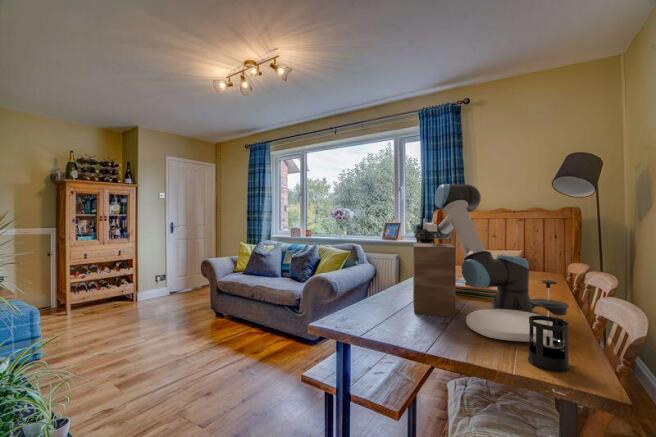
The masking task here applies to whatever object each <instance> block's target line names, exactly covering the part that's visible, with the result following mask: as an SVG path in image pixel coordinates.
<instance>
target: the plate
mask: <svg viewBox="0 0 656 437" xmlns="http://www.w3.org/2000/svg"><path fill="white" fill-rule="evenodd" d="M530 316H542V315H540V314H538V313H534V312H533V313H530V312H524V311H517V310H508V309H493V308H484V309H478V310H475V311H472V312H470V313H468V314H467V315H466V317H465V318H466V319H465V323H466V325H467V327H468V328H469V329H471V330H472V331H473V332H475V333H478V334H479V335H482V336H484V337H487V338H491V339H495V340H501V341H511V342H524V343H525V342H527V343H529V335H530V324H529V317H530ZM534 322H537V323H540V324H544V325H547V321H544V320H534ZM549 325H550V326H553V322H551V321H549ZM533 335H536V327H534V326H533ZM543 335H544V336H547V330H544V329H543ZM549 336H550V337H553V331H549Z"/></svg>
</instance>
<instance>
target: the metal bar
mask: <svg viewBox="0 0 656 437" xmlns="http://www.w3.org/2000/svg"><path fill="white" fill-rule="evenodd" d="M434 223H435V222H434ZM434 223H432V222H425V229H426V230H427V231H437V225H438V224H437V223H436V224H434Z"/></svg>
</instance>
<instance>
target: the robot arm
mask: <svg viewBox="0 0 656 437" xmlns="http://www.w3.org/2000/svg"><path fill="white" fill-rule="evenodd" d="M434 193H435V194H434V204H435V207H436V208H439V209H442V210H443V213H444V214H445V215H446V216H445V217H444V218H443V220H442V221H441V222H440V223H439V224H437V223H436V222H435V218H434V217H433V218H432V219H431V223H434V224H437V231H427V230H426V229H425V223H426V217H424V218H423V220H422V221H423V222H417V223H416V224H414V225H413V226H412V227H413V229H412V230H413V233H414V238H415V240H416V243H430V244H434V240H445V239H450V238H451V236H452V230H453V229H454V232H455V234H456V237H457V239H458V242H459V244H460V247H461V250H462V252H463V254H464V258H463V260H462V261H463V262H462V264H461V276H462V278H463V279H464V281H465V282H466V283H467V284H468V285H469V286H471V287H473V288H481V289H485V288H495V287H496V289H497V290H496V294H495V295H494V299H493V302H492V309H508V310H517V311H524V312H530V313H534V308H533V309H531V303H529V300H530V299H531V296H530V293H529V290H530V289H529V288H530V287H529V284H530V281H529V280H530V278H529V277H530V274H529V273H530V267H529V266H530V265H529V260H527V258H524V257H518V256H512V255H511V256H510V255H502V254H498V255H497V257H496V258H494V257H493V254H492V252H491V251H489V250H487V249H486V248H485V246H484V244H483V242H482V240H481V236H480V235H479V233H478V230H477V229H476V226H475V224H474V222H473V219H472V218H471V216H470V213H473V212H475V210H476V209H478V207H479V205H480V203H481V200H482V198H481V193H480V191H479V189H478V188H477V187H475V186H474V185H472V184H458V183H457V184H453V183H450V184H449V183H445V184H440V185H439V186H438V187H437V189H436V190H435V192H434Z"/></svg>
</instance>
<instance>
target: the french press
mask: <svg viewBox="0 0 656 437" xmlns="http://www.w3.org/2000/svg"><path fill="white" fill-rule="evenodd" d="M538 281H539V283H542V284H545V286H546V289H547V299H546V298H530V300H529V303H531V309H533V310H534V308H537V307H538V308H539V307H540V308H544V309H545V310H546V311H547V315H541V316H530V317H529V324H530V335H529V342H528V343H529V345H528V346H529V347H528V357H527V361H528V363H529V364H530V365H532V366H534V367H536V368H538V369H539V370H543V371H546V372H552V373H567V372H569V370H570V368H571V367H570V365H569V364H570V363H569V360H570V359H569V330H570V329H569V328H570V325H569V322H567V321H566V320H564V319H563V318H561V317H559V316H566V315H567V314H568V312H567V309H568V308H570V305H569V304H567V303H565V302H562V301H559V300H554V299H550V289H551V285H558V281H554V280H551V279H550V280H549V279H542V280H538ZM550 314H553V315H554V317H553V316H550ZM555 316H556V317H555ZM534 320H544V321H547V325H544V324H540V323H537V322H534ZM549 321H551V322H553V326H550V325H549ZM533 326H534V327H536V335H533ZM543 329H544V330H547V336H544V335H543ZM549 331H553V337H550V336H549Z"/></svg>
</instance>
